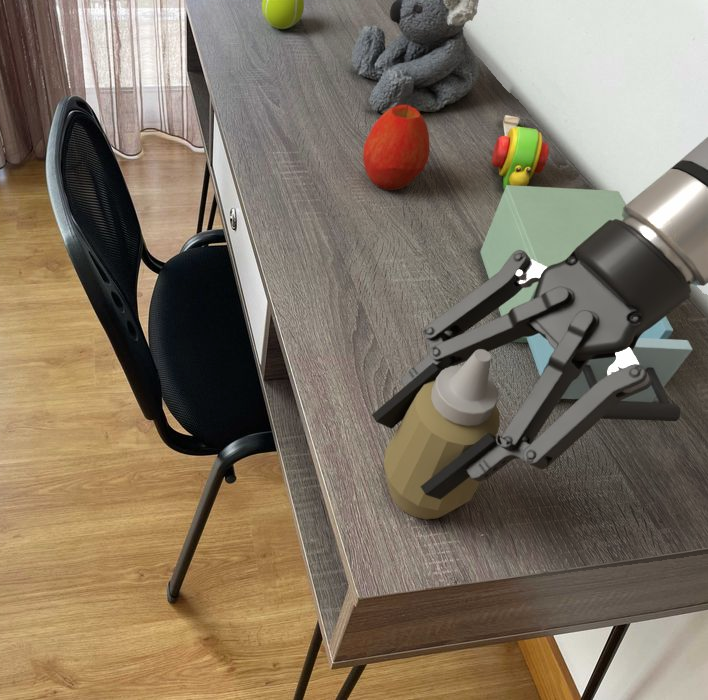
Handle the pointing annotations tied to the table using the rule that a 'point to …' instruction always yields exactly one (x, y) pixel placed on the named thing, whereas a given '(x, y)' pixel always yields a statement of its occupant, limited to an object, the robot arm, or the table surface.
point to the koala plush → (419, 56)
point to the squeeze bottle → (441, 435)
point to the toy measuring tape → (519, 153)
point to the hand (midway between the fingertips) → (405, 456)
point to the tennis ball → (282, 12)
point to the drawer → (651, 354)
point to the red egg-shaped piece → (396, 148)
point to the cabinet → (544, 228)
